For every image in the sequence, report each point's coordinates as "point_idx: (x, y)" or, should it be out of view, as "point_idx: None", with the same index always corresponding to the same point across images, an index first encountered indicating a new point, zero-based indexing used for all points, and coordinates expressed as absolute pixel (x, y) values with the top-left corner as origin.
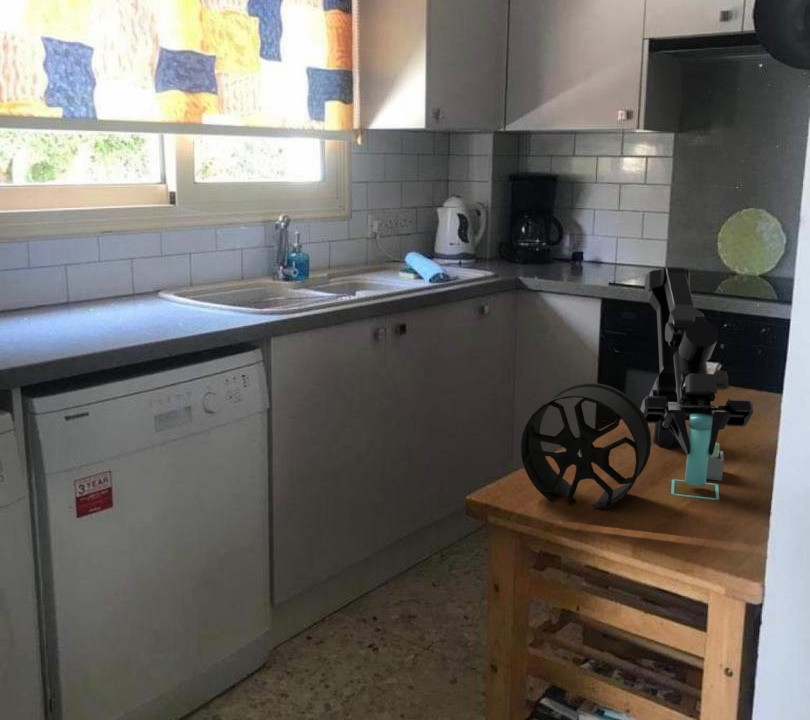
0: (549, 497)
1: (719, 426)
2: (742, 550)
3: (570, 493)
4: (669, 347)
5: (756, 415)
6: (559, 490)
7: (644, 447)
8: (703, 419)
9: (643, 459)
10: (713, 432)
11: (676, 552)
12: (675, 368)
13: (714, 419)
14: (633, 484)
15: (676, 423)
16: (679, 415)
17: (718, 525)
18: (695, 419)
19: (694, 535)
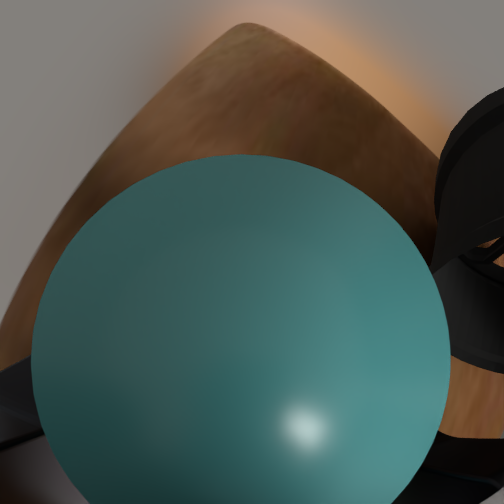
0: (501, 271)
1: (1, 378)
2: (222, 62)
3: (493, 250)
4: None
5: None
6: (495, 304)
7: (494, 183)
8: (291, 180)
9: (463, 211)
10: None
11: (330, 79)
12: None
13: (7, 431)
14: (440, 168)
15: (436, 435)
16: (485, 449)
17: (218, 141)
18: (399, 240)
19: (287, 112)
